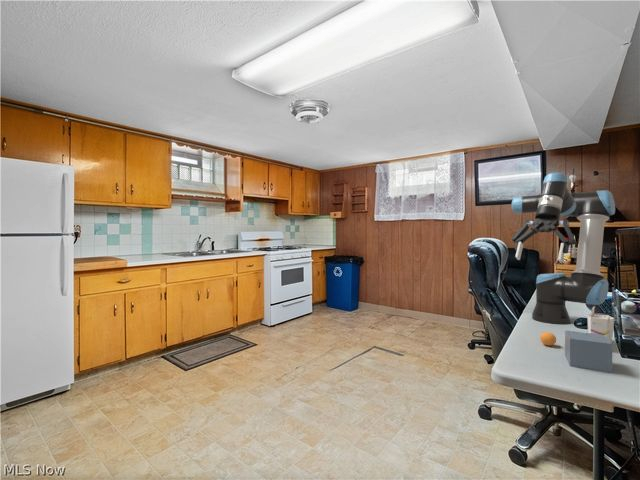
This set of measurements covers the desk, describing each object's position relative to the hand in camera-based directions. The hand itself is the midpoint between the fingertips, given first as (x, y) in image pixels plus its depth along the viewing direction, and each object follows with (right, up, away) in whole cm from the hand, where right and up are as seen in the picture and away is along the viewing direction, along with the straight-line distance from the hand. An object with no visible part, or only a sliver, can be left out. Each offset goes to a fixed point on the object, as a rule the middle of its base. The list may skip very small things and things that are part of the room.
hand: (537, 259), depth 117 cm
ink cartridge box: (+25, -33, +2) cm, 41 cm away
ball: (+7, -30, +4) cm, 31 cm away
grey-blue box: (+7, -33, -13) cm, 36 cm away
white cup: (+30, -33, +8) cm, 45 cm away
